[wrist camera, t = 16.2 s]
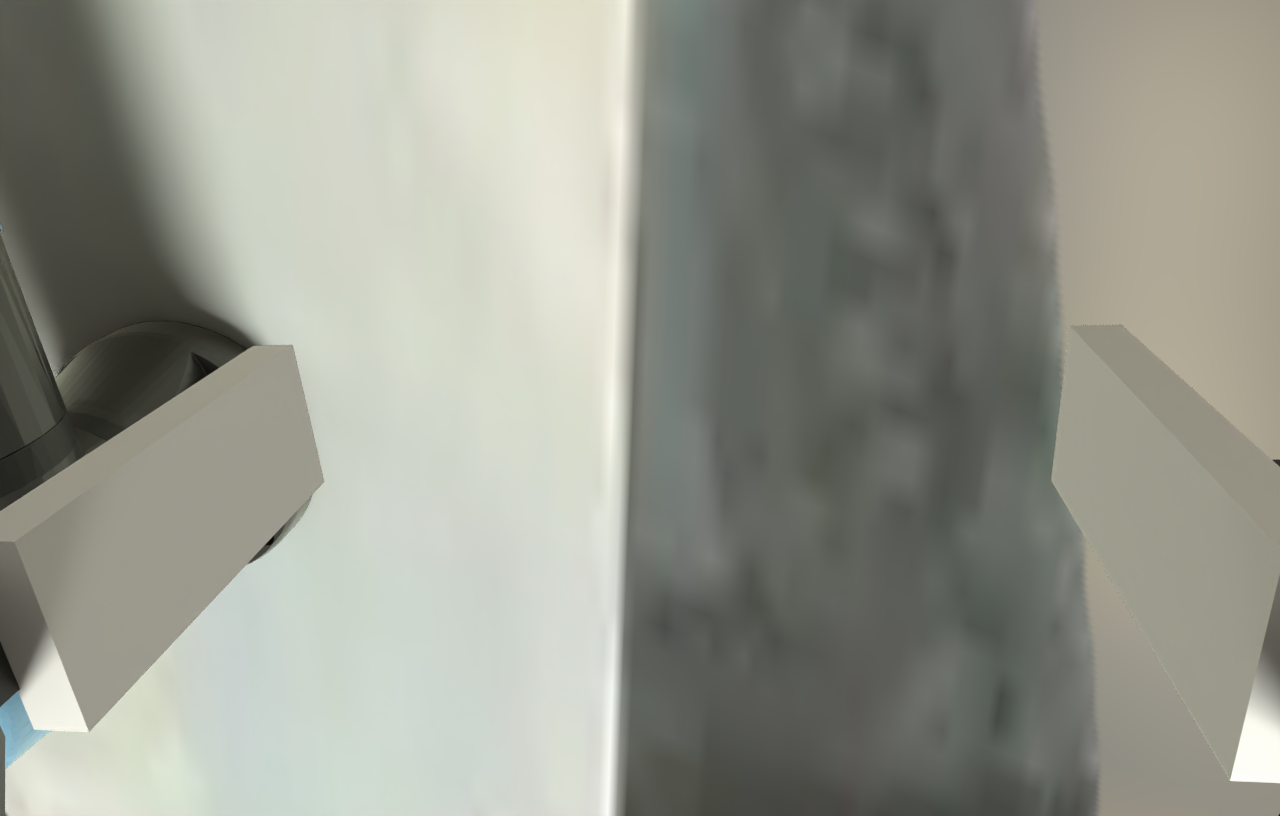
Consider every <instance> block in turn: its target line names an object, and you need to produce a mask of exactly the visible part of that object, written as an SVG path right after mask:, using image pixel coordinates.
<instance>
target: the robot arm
mask: <svg viewBox="0 0 1280 816" xmlns="http://www.w3.org/2000/svg"><path fill="white" fill-rule="evenodd" d="M1 232H3V228H2V226H1V224H0V233H1ZM1051 481H1052V483H1053V485H1054V486H1055V488H1056V490H1057V491H1058V493H1059V495H1060V496H1061V498H1062V500H1063V501H1064V503H1065V505H1066V506H1067V508H1068V510H1069V511H1070V513H1071V515H1072V516H1073V518H1074V520H1075V521H1076V523H1077V525H1078V526H1079V528H1080V530H1081V532H1082V533H1083V535H1084V537H1085V538H1086V540H1087V542H1088V543H1089V545H1090V547H1091V548H1092V550H1093V552H1094V553H1095V555H1096V557H1097V558H1098V560H1099V562H1100V563H1101V565H1102V567H1103V568H1104V570H1105V572H1106V573H1107V575H1108V577H1109V578H1110V580H1111V582H1112V583H1113V585H1114V587H1115V588H1116V590H1117V592H1118V594H1119V595H1120V597H1121V598H1122V600H1123V602H1124V604H1125V605H1126V607H1127V609H1128V610H1129V612H1130V614H1131V615H1132V617H1133V619H1134V620H1135V622H1136V624H1137V625H1138V627H1139V629H1140V630H1141V632H1142V634H1143V635H1144V637H1145V639H1146V640H1147V642H1148V644H1149V646H1150V647H1151V649H1152V650H1153V652H1154V654H1155V656H1156V657H1157V659H1158V661H1159V662H1160V664H1161V666H1162V667H1163V669H1164V671H1165V672H1166V674H1167V676H1168V677H1169V679H1170V681H1171V683H1172V684H1173V686H1174V688H1175V689H1176V691H1177V693H1178V694H1179V696H1180V697H1181V699H1182V701H1183V703H1184V704H1185V706H1186V708H1187V709H1188V711H1189V713H1190V714H1191V716H1192V718H1193V719H1194V721H1195V723H1196V724H1197V726H1198V728H1199V729H1200V731H1201V733H1202V735H1203V736H1204V738H1205V740H1206V741H1207V743H1208V744H1209V746H1210V748H1211V750H1212V751H1213V753H1214V755H1215V756H1216V758H1217V759H1218V761H1219V763H1220V765H1221V766H1222V768H1223V770H1224V771H1225V773H1226V775H1227V776H1228V778H1229V780H1230V781H1247V782H1270V783H1280V460H1272V459H1270V458H1269V457H1268V456H1267V455H1266V454H1265V453H1264V452H1263V451H1262V450H1260V449H1259V448H1258V447H1257V446H1256V445H1255V444H1254V443H1253V442H1251V441H1250V440H1249V439H1248V438H1247V437H1246V436H1245V435H1244V434H1243V433H1241V432H1240V431H1239V430H1238V429H1237V428H1236V427H1235V426H1234V425H1233V424H1231V423H1230V422H1229V421H1228V420H1227V419H1226V418H1225V417H1224V416H1223V415H1222V414H1220V413H1219V412H1218V411H1217V410H1216V409H1215V408H1214V407H1213V406H1212V405H1210V404H1209V403H1208V402H1207V401H1206V400H1205V399H1204V398H1202V397H1201V396H1200V395H1199V394H1198V393H1197V392H1196V391H1195V390H1194V389H1193V388H1191V387H1190V386H1189V385H1188V384H1187V383H1186V382H1185V381H1184V380H1182V379H1181V378H1180V377H1179V376H1178V375H1177V374H1176V373H1175V372H1174V371H1173V370H1171V369H1170V368H1169V367H1168V366H1167V365H1166V364H1165V363H1164V362H1163V361H1161V360H1160V359H1159V358H1158V357H1157V356H1156V355H1154V353H1152V352H1151V351H1150V350H1149V349H1148V348H1147V347H1146V346H1145V345H1144V344H1143V343H1141V342H1140V341H1139V340H1138V339H1137V338H1136V337H1135V336H1133V335H1132V334H1131V333H1130V332H1129V331H1128V330H1127V329H1126V328H1125V327H1124V326H1123V325H1083V326H1070V328H1069V336H1068V345H1067V353H1066V361H1065V370H1064V378H1063V386H1062V395H1061V403H1060V412H1059V420H1058V428H1057V437H1056V445H1055V453H1054V462H1053V470H1052V478H1051ZM323 483H324V478H323V474H322V470H321V465H320V461H319V457H318V452H317V448H316V443H315V439H314V435H313V430H312V426H311V422H310V417H309V413H308V409H307V404H306V400H305V396H304V391H303V387H302V383H301V378H300V374H299V370H298V365H297V361H296V357H295V352H294V348H293V345H268V346H252V347H251V348H249V349H247V350H246V349H245V348H243V347H242V346H240V345H238V344H237V343H235V342H233V341H232V340H230V339H228V338H226V337H224V336H222V335H219V334H217V333H215V332H212V331H210V330H207V329H204V328H201V327H198V326H194V325H190V324H185V323H179V322H169V321H153V322H144V323H138V324H134V325H130V326H127V327H124V328H122V329H119V330H117V331H115V332H113V333H111V334H109V335H107V336H105V337H103V338H101V339H99V340H97V341H95V342H93V343H91V344H90V345H88V346H86V347H85V348H83V349H82V350H81V351H79V352H78V353H77V354H76V355H74V356H73V357H72V358H71V359H70V360H69V361H68V362H67V363H66V364H65V365H64V366H63V368H62V369H61V370H60V372H59V374H58V375H57V377H56V379H55V378H54V375H53V373H52V370H51V367H50V365H49V362H48V360H47V357H46V354H45V352H44V349H43V346H42V344H41V341H40V338H39V336H38V333H37V331H36V328H35V325H34V323H33V320H32V317H31V315H30V312H29V310H28V307H27V304H26V302H25V299H24V296H23V294H22V291H21V288H20V286H19V283H18V281H17V278H16V275H15V273H14V270H13V267H12V265H11V262H10V259H9V257H8V254H7V252H6V249H5V246H4V244H3V241H2V238H1V236H0V816H5V769H6V768H8V767H9V766H10V765H11V764H12V763H13V762H14V761H15V760H17V759H18V758H19V757H20V756H21V755H22V754H24V753H25V752H26V751H27V750H28V749H29V748H31V747H32V746H33V745H34V744H35V743H36V742H38V741H39V740H40V739H41V738H42V737H43V736H45V735H46V734H47V733H49V732H51V731H76V732H90V730H91V729H92V728H93V727H94V726H95V725H96V724H97V723H98V722H99V721H100V720H101V719H102V718H103V717H104V716H105V715H106V713H107V712H108V711H109V710H110V709H111V708H112V707H113V706H114V705H115V704H116V703H117V702H118V701H119V700H120V699H121V697H122V696H123V695H124V694H125V693H126V692H127V691H128V690H129V689H130V688H131V687H132V686H133V685H134V684H135V683H136V682H137V680H138V679H139V678H140V677H141V676H142V675H143V674H144V673H145V672H146V671H147V670H148V669H149V668H150V667H151V666H152V664H153V663H154V662H155V661H156V660H157V659H158V658H159V657H160V656H161V655H162V654H163V653H164V652H165V651H166V650H167V649H168V647H169V646H170V645H171V644H172V643H173V642H174V641H175V640H176V639H177V638H178V637H179V636H180V635H181V634H182V633H183V632H184V630H185V629H186V628H187V627H188V626H189V625H190V624H191V623H192V622H193V621H194V620H195V619H196V618H197V617H198V616H199V614H200V613H201V612H202V611H203V610H204V609H205V608H206V607H207V606H208V605H209V604H210V603H211V602H212V601H213V600H214V599H215V597H216V596H217V595H218V594H219V593H220V592H221V591H222V590H223V589H224V588H225V587H226V586H227V585H228V584H229V583H230V581H231V580H232V579H233V578H234V577H235V576H236V575H237V574H238V573H239V572H240V571H241V570H242V569H243V568H244V567H245V566H246V565H247V564H250V563H252V562H254V561H255V560H257V559H259V558H261V557H262V556H264V555H265V554H266V553H268V552H269V551H270V550H272V549H273V548H274V547H275V546H276V545H277V544H278V543H279V542H280V541H281V540H282V539H283V538H284V537H285V536H286V535H287V534H288V533H289V532H290V530H291V529H292V528H293V527H294V526H295V525H296V524H297V523H298V521H299V520H300V519H301V517H302V516H303V514H304V512H305V511H306V509H307V507H308V505H309V502H310V500H311V497H312V494H313V493H314V492H315V491H316V490H317V489H318V488H319V487H320V486H321V485H322V484H323ZM1279 816H1280V814H1279Z"/></svg>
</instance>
